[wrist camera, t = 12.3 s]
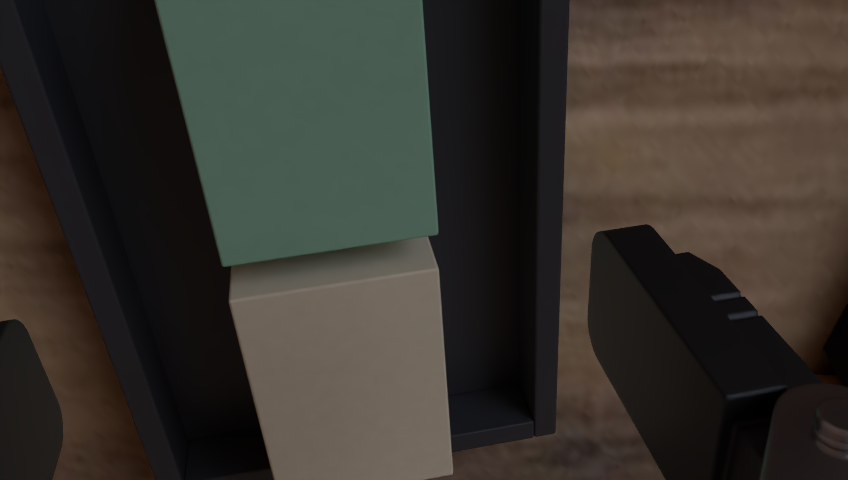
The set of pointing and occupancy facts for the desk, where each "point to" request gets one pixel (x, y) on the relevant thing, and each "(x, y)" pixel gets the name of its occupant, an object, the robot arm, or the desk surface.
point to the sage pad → (305, 121)
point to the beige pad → (347, 362)
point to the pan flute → (838, 352)
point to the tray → (210, 282)
